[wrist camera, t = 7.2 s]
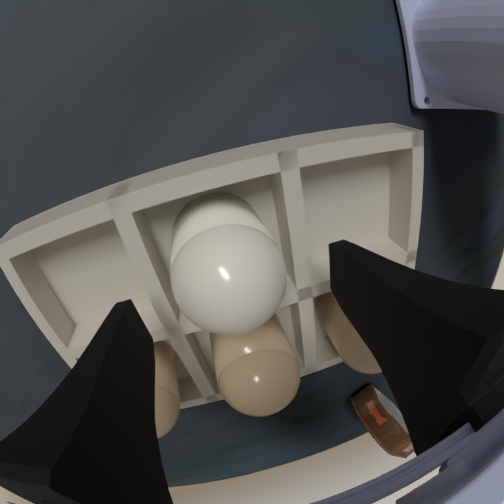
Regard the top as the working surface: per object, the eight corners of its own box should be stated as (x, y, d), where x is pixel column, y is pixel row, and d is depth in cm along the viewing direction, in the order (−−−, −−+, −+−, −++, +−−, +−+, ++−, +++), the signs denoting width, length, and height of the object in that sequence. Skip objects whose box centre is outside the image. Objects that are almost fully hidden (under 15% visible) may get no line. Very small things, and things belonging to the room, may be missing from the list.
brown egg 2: (376, 261, 18) (432, 319, 13) (371, 311, 20) (415, 369, 15) (313, 283, 17) (359, 354, 12) (316, 332, 20) (352, 399, 15)
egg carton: (392, 122, 14) (423, 130, 12) (383, 314, 21) (400, 336, 19) (13, 225, 12) (-9, 249, 10) (120, 390, 19) (119, 418, 17)
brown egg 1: (161, 326, 16) (162, 411, 11) (185, 370, 19) (195, 445, 14) (97, 341, 16) (84, 421, 11) (128, 381, 18) (126, 454, 13)
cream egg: (252, 181, 13) (297, 237, 9) (268, 260, 16) (308, 338, 11) (159, 207, 13) (148, 280, 8) (187, 283, 15) (195, 371, 10)
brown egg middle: (274, 295, 17) (310, 372, 12) (283, 343, 19) (313, 414, 14) (200, 316, 17) (213, 401, 12) (219, 361, 19) (236, 437, 14)
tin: (340, 388, 26) (376, 458, 19) (366, 369, 25) (407, 438, 18) (380, 415, 33) (406, 461, 26) (399, 402, 33) (427, 448, 26)
